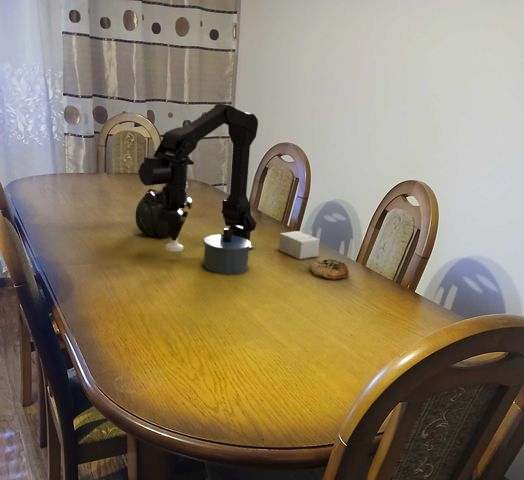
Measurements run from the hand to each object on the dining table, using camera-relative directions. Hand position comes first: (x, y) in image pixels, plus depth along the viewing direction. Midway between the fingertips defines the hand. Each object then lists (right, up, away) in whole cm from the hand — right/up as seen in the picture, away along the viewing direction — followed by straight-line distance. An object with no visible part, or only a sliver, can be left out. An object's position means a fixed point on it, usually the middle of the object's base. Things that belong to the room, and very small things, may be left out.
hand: (174, 239), depth 157 cm
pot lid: (+15, -1, +1) cm, 15 cm away
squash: (-9, +7, +26) cm, 29 cm away
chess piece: (0, -3, +1) cm, 3 cm away
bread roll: (+44, -9, +7) cm, 45 cm away
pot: (+14, -7, +4) cm, 16 cm away
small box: (+33, +5, +24) cm, 41 cm away
